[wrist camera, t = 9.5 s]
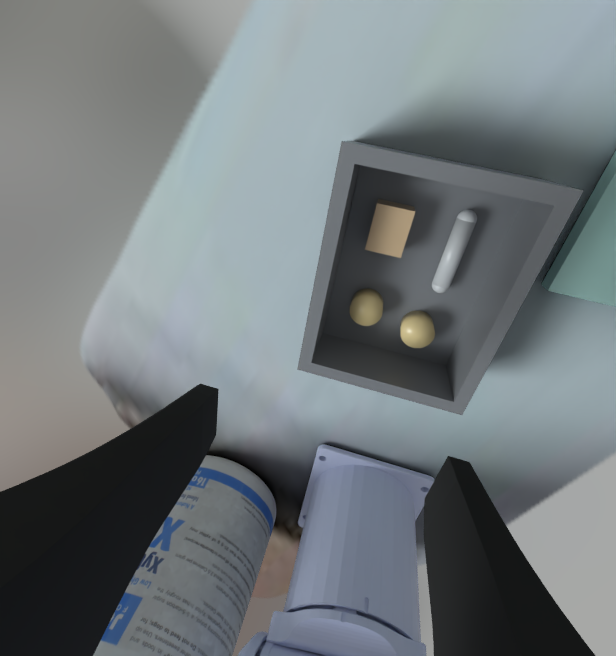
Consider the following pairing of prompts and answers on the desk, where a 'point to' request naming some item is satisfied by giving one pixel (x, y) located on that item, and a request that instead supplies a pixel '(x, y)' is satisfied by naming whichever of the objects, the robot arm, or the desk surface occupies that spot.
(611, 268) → the lid
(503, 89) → the desk surface
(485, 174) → the parts tub
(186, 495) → the supplement tub
